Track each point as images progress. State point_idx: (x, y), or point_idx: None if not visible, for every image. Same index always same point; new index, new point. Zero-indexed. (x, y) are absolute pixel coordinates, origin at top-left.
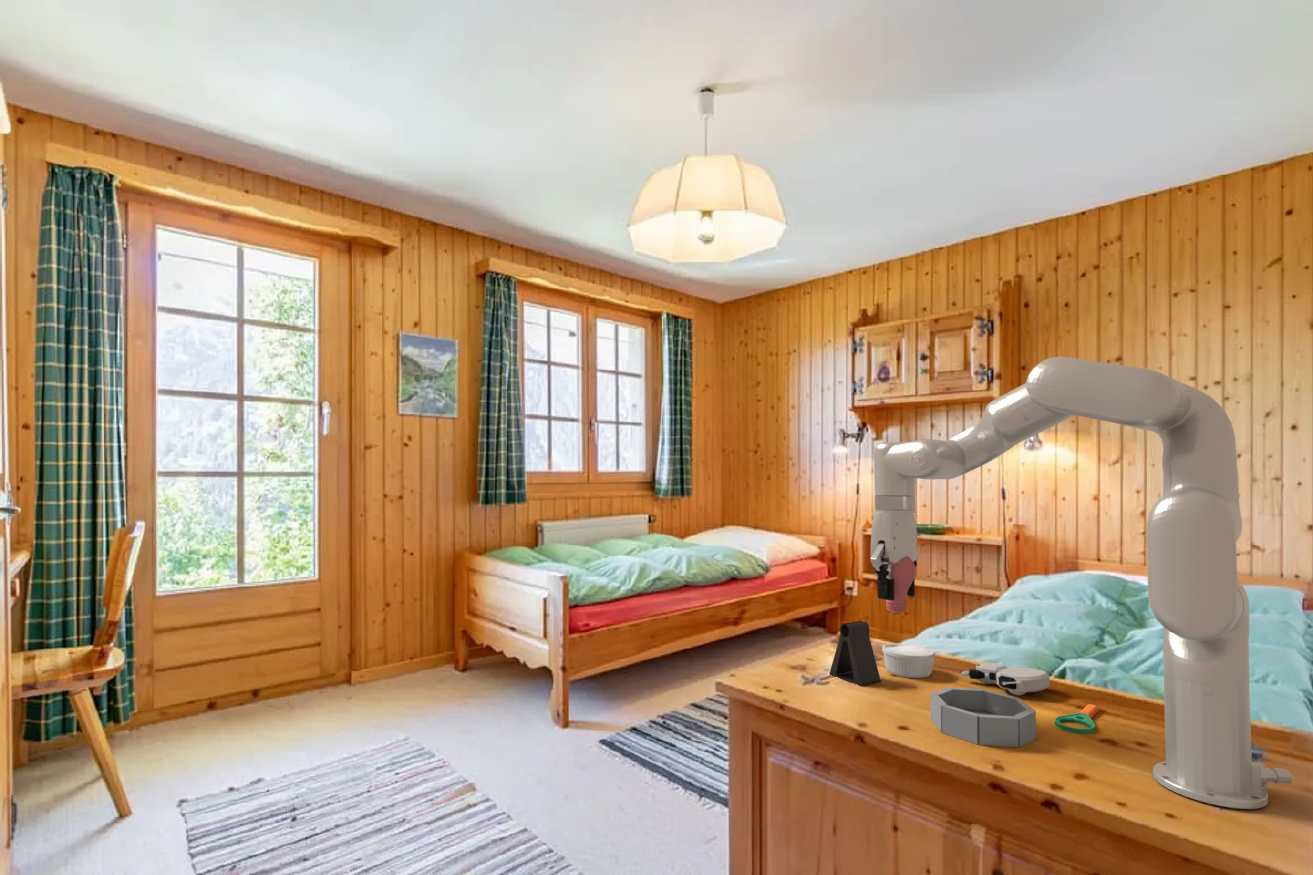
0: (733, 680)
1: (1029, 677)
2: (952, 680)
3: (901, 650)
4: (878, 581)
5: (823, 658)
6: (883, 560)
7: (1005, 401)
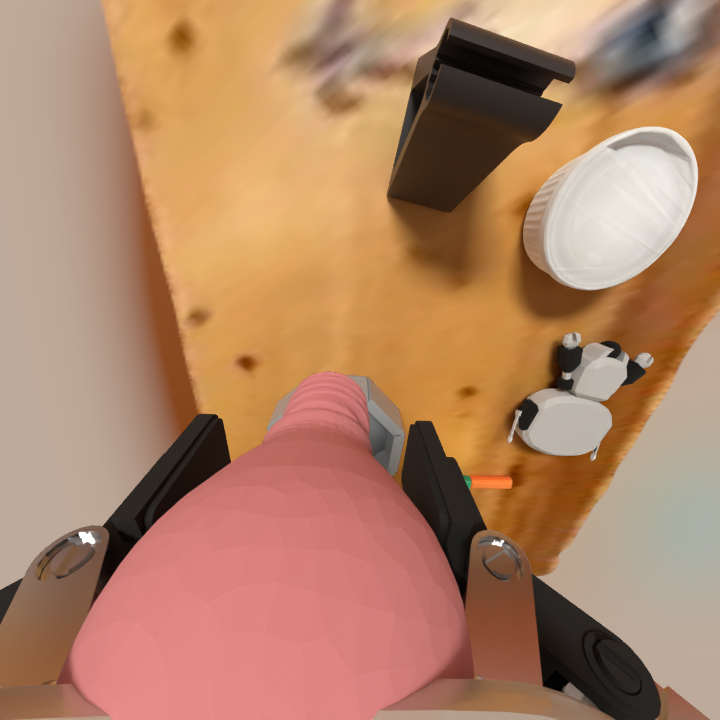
0: None
1: (536, 446)
2: (555, 313)
3: (591, 210)
4: (139, 494)
5: None
6: None
7: None
